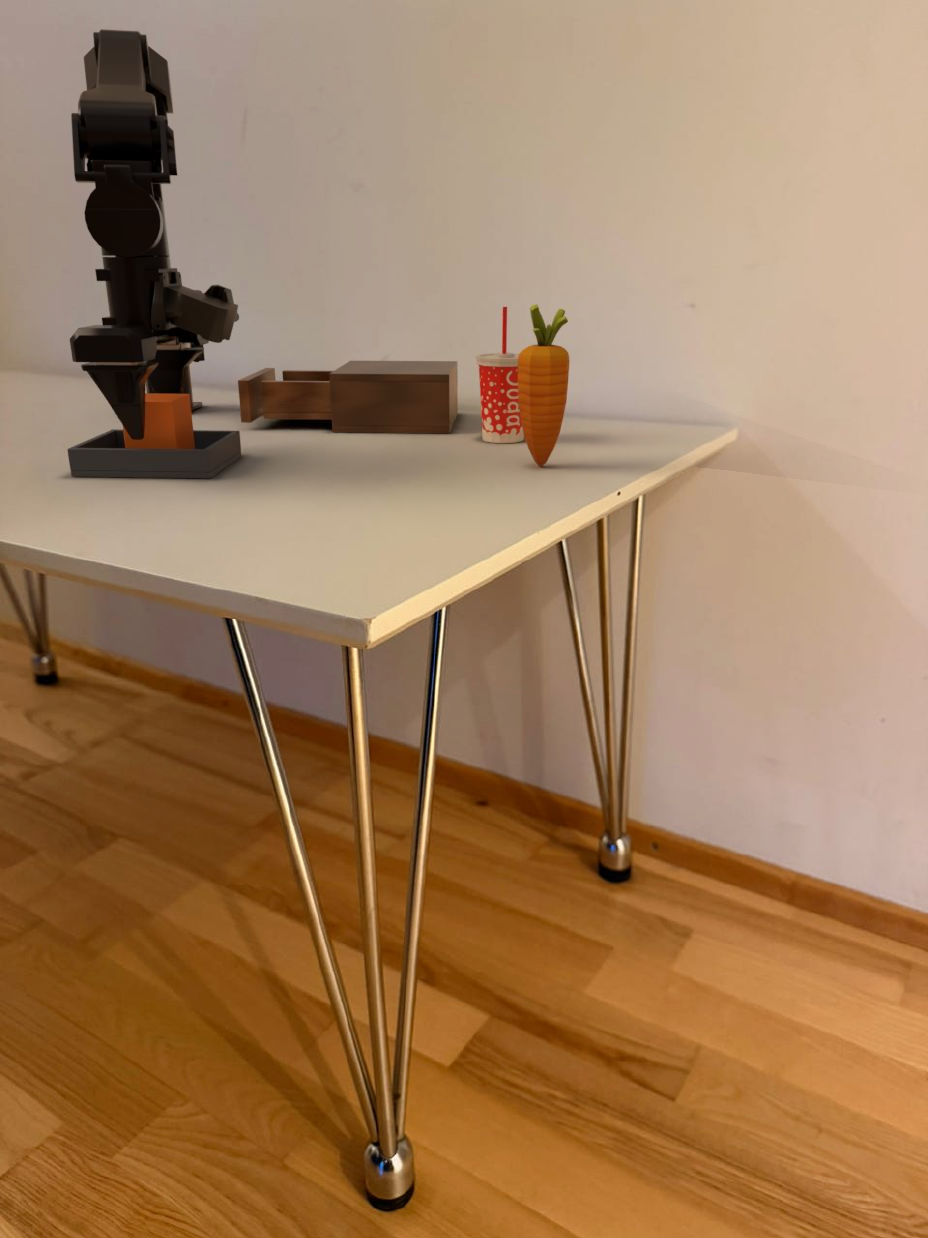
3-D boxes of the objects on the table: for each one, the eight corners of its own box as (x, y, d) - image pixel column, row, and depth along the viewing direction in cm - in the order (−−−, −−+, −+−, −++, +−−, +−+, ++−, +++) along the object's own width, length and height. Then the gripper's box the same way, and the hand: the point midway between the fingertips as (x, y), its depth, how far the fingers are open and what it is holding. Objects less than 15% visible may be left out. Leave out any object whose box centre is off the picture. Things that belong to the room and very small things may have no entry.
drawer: (231, 422, 110) (227, 380, 109) (259, 405, 122) (256, 367, 120) (347, 423, 110) (345, 381, 108) (364, 406, 121) (363, 368, 119)
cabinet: (332, 432, 110) (329, 373, 107) (352, 413, 122) (350, 360, 120) (449, 433, 109) (449, 374, 106) (457, 414, 121) (457, 361, 119)
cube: (147, 454, 95) (139, 393, 93) (196, 454, 94) (189, 393, 92) (127, 464, 90) (118, 400, 88) (178, 465, 90) (171, 401, 88)
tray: (115, 454, 98) (112, 429, 97) (241, 456, 97) (239, 430, 96) (71, 476, 88) (66, 448, 87) (210, 478, 87) (208, 450, 86)
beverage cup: (482, 445, 102) (483, 308, 97) (470, 435, 108) (470, 305, 103) (537, 443, 103) (540, 307, 98) (522, 433, 109) (525, 304, 104)
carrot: (558, 460, 95) (564, 302, 89) (572, 470, 90) (579, 305, 85) (510, 462, 94) (512, 302, 89) (521, 472, 90) (525, 305, 84)
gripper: (189, 257, 76) (208, 450, 82) (251, 255, 94) (264, 415, 99) (54, 257, 77) (82, 449, 83) (141, 255, 94) (159, 414, 100)
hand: (156, 430), depth 91 cm, fingers open, 9 cm apart
